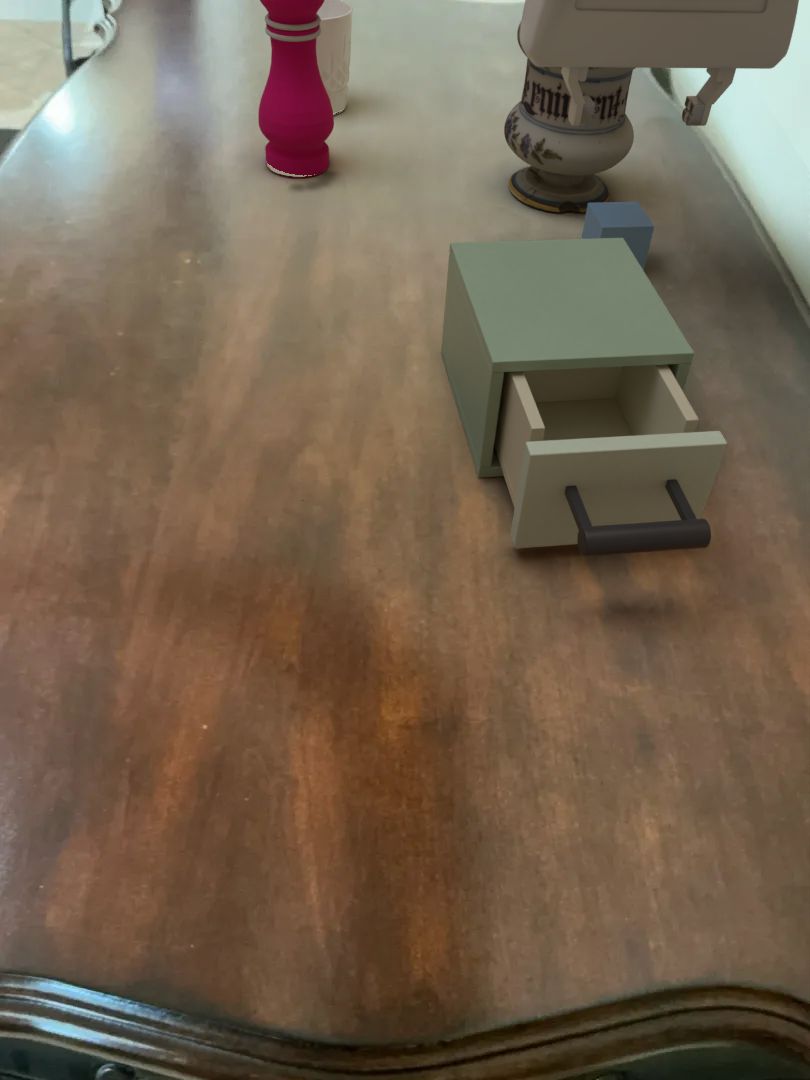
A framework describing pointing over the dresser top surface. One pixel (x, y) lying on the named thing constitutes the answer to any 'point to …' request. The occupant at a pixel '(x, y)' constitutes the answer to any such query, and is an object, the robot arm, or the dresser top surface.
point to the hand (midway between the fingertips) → (636, 123)
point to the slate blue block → (620, 225)
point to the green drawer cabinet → (546, 322)
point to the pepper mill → (295, 91)
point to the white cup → (335, 50)
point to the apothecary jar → (567, 137)
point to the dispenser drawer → (605, 460)
